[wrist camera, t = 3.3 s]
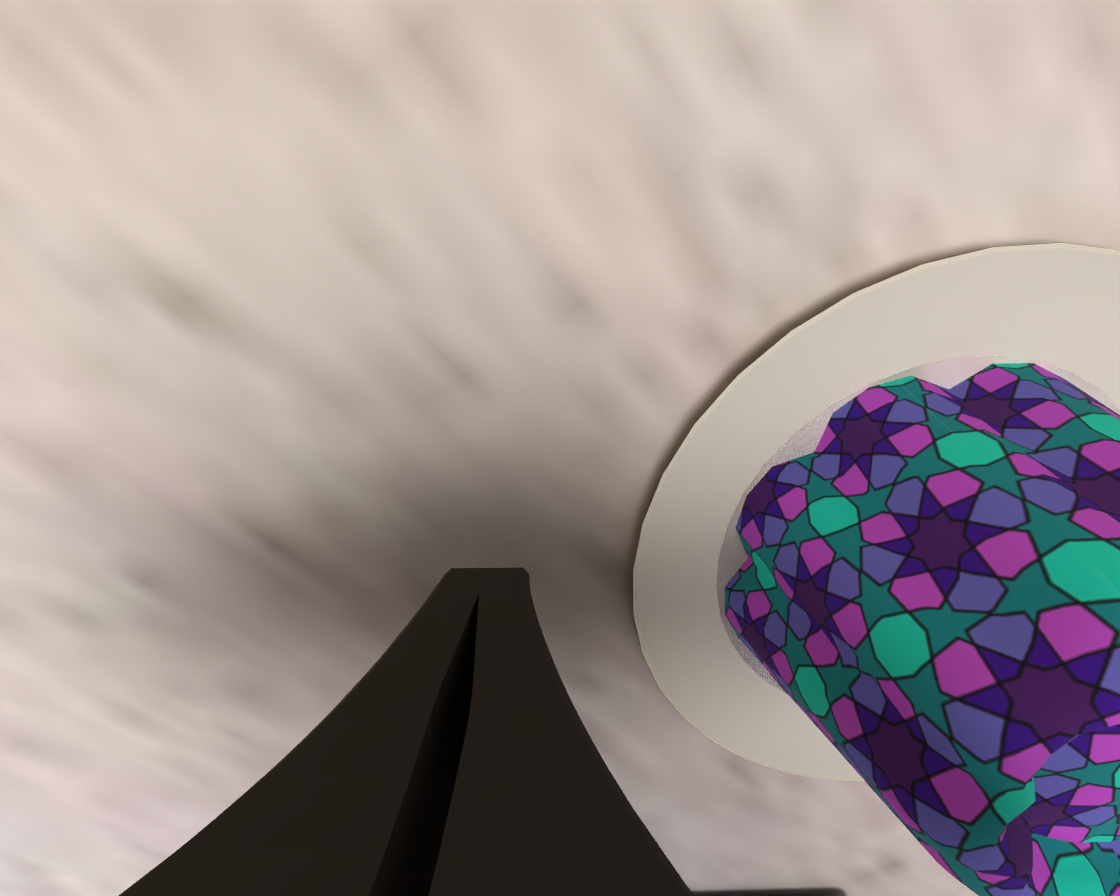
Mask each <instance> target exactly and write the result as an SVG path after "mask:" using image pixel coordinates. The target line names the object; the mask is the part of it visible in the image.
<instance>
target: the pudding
mask: <svg viewBox="0 0 1120 896" xmlns="http://www.w3.org/2000/svg"><path fill="white" fill-rule="evenodd" d="M982 356H1003V357H1012V358H1021V359H1029V360H1036V361H1039V362H1042V363H1045V364H1048V365H1051V366H1054V367H1057V368H1060V369H1063V370H1066V371H1070V372H1071V373H1073V374H1075V375H1076V376H1078V377H1080V378H1081V379H1083V380H1085V381H1086V382H1088V383H1089V384H1091V385H1093V386H1094V387H1096V388H1098V389H1099V390H1100V391H1101V392H1102V393H1103V394H1104V395H1105V396H1106V397H1107V398H1108V399H1109V400H1110V401H1111V402H1112V403H1113V404H1114V405H1115V406H1116V407H1117V408H1118V409H1119V410H1120V250H1112V249H1105V248H1097V247H1090V246H1082V245H1074V244H1067V243H1052V244H1036V245H1021V246H1005V247H992V248H988V249H984V250H979V251H975V252H971V253H967V254H963V255H959V256H955V257H950V258H946V259H942V260H938V261H934V262H930V263H926V264H922V265H919V266H917V267H914V268H912V269H910V270H907V271H905V272H903V273H900V274H898V275H895V276H893V277H891V278H888V279H886V280H883V281H881V282H879V283H876V284H874V285H871V286H869V287H867V288H864V289H862V290H859V291H857V292H855V293H853V294H851V295H849V296H848V297H846V298H844V299H843V300H841V301H839V302H838V303H836V304H835V305H833V306H831V307H830V308H828V309H826V310H825V311H823V312H821V313H820V314H818V315H816V316H815V317H813V318H811V319H810V320H808V321H807V322H805V323H803V324H802V325H800V326H798V327H797V328H795V329H793V330H792V331H790V332H789V333H788V334H787V335H786V336H784V337H783V338H782V339H781V340H780V341H778V342H777V343H776V344H775V345H774V346H772V347H771V348H770V349H769V350H768V351H766V352H765V353H764V354H763V355H762V356H760V357H759V358H758V359H757V360H756V361H754V362H753V363H752V364H751V365H750V366H748V367H747V368H746V369H745V370H744V371H742V372H741V373H740V374H739V375H738V376H737V377H736V378H735V379H734V380H733V381H732V382H731V384H730V385H729V386H728V387H727V388H726V389H725V390H724V391H723V393H722V394H721V395H720V396H719V397H718V398H717V399H716V400H715V402H714V403H713V404H712V405H711V406H710V407H709V408H708V410H707V411H706V412H705V413H704V414H703V415H702V416H701V417H700V419H699V420H698V421H697V422H696V423H695V424H694V426H693V427H692V429H691V431H690V432H689V434H688V435H687V437H686V439H685V440H684V442H683V443H682V445H681V446H680V448H679V450H678V451H677V453H676V454H675V456H674V458H673V459H672V461H671V462H670V464H669V465H668V467H667V469H666V470H665V472H664V473H663V475H662V478H661V480H660V483H659V485H658V488H657V490H656V492H655V495H654V497H653V500H652V502H651V505H650V507H649V509H648V512H647V514H646V517H645V519H644V522H643V524H642V529H641V534H640V539H639V544H638V549H637V554H636V559H635V564H634V569H633V615H634V619H635V624H636V628H637V632H638V637H639V641H640V645H641V650H642V654H643V656H644V658H645V660H646V662H647V664H648V666H649V668H650V670H651V672H652V674H653V676H654V678H655V681H656V683H657V685H658V687H659V688H660V690H661V691H662V692H663V693H664V695H665V696H666V697H667V698H668V700H669V701H670V702H671V703H672V705H673V706H674V707H675V708H676V710H677V711H678V712H679V713H680V715H681V716H682V717H683V718H684V719H685V720H687V721H688V722H689V723H690V724H691V725H693V726H694V727H695V728H696V729H697V730H699V731H700V732H701V733H702V734H703V735H705V736H706V737H707V738H708V739H710V740H711V741H712V742H714V743H716V744H718V745H720V746H722V747H723V748H725V749H727V750H729V751H731V752H732V753H734V754H736V755H738V756H740V757H742V758H743V759H746V760H749V761H752V762H754V763H757V764H760V765H763V766H766V767H769V768H772V769H774V770H777V771H780V772H785V773H790V774H795V775H801V776H806V777H811V778H816V779H824V780H842V781H860V782H866V783H867V784H868V785H869V786H870V787H871V788H872V789H873V790H874V792H875V793H876V794H877V795H878V796H879V797H880V798H881V799H882V801H883V802H884V803H885V804H886V805H887V806H888V807H889V808H890V810H891V811H892V812H893V813H894V814H895V815H896V816H897V817H898V819H899V820H900V821H901V822H902V823H903V824H904V825H905V826H906V828H907V829H908V830H909V831H910V832H911V833H912V834H913V835H914V837H915V838H916V839H917V840H918V841H919V842H920V843H921V844H922V846H923V847H924V848H925V849H926V850H927V851H928V852H929V853H930V855H931V856H932V857H933V858H934V859H935V860H936V861H937V862H938V863H939V864H940V865H941V866H942V867H943V868H944V869H946V870H947V871H948V872H949V873H950V874H951V875H952V876H954V877H955V878H956V879H958V880H959V881H960V882H961V883H963V884H964V885H965V886H967V887H968V888H969V889H971V890H972V891H973V892H975V893H976V894H978V895H979V896H1120V415H1118V414H1117V413H1115V412H1114V411H1112V410H1111V409H1109V408H1108V407H1106V406H1104V405H1103V404H1101V403H1100V402H1098V401H1097V400H1095V399H1094V398H1092V397H1091V396H1089V395H1088V394H1086V393H1085V392H1083V391H1082V390H1080V389H1079V388H1077V387H1076V386H1074V385H1073V384H1071V383H1070V382H1068V381H1067V380H1065V379H1063V378H1061V377H1059V376H1057V375H1055V374H1053V373H1051V372H1049V371H1047V370H1045V369H1044V368H1042V367H1040V366H1038V365H1036V364H1034V363H1020V364H992V365H990V366H988V367H987V368H985V369H983V370H981V371H980V372H978V373H976V374H975V375H973V376H971V377H970V378H968V379H966V380H965V381H963V382H961V383H959V384H958V385H956V386H954V387H953V388H951V389H949V390H948V389H946V388H943V387H940V386H937V385H935V384H932V383H929V382H926V381H924V380H921V379H918V378H916V377H913V376H909V377H905V378H902V379H898V380H894V381H891V382H887V383H884V384H880V385H877V386H873V387H869V388H868V389H867V390H865V391H864V392H862V393H861V394H859V395H858V396H857V397H855V398H854V399H852V400H851V401H849V402H848V403H847V404H845V405H844V406H842V407H841V408H839V409H838V410H837V411H835V412H834V413H833V415H832V417H831V419H830V421H829V423H828V425H827V427H826V429H825V431H824V434H823V436H822V438H821V440H820V442H819V444H818V446H817V448H816V450H815V452H814V453H811V454H808V455H805V456H802V457H799V458H796V459H793V460H791V461H788V462H785V463H782V464H779V465H776V466H773V467H772V468H771V469H770V470H769V471H768V472H767V474H766V475H765V476H764V477H763V478H762V479H761V480H760V481H759V483H758V484H757V485H756V486H755V487H754V488H753V489H752V491H751V492H750V493H749V494H748V495H747V497H746V500H745V503H744V506H743V509H742V512H741V515H740V518H739V520H738V523H737V526H736V529H737V531H738V534H739V536H740V539H741V541H742V544H743V546H744V549H745V551H746V553H747V556H748V559H747V560H746V562H745V563H744V564H743V565H742V567H741V568H740V569H739V570H738V572H737V573H736V574H735V575H734V576H733V578H732V579H731V580H730V581H729V583H728V584H727V585H726V586H725V615H726V617H727V618H728V620H729V622H730V624H731V625H732V627H733V629H734V630H735V632H736V634H737V636H738V637H739V638H740V639H741V641H742V642H743V643H744V644H745V645H746V646H747V647H748V648H749V650H750V651H751V652H752V653H753V654H754V655H755V656H756V657H757V659H758V660H759V661H760V662H761V663H762V664H763V665H764V666H765V668H766V669H767V670H768V671H769V672H770V675H771V676H772V677H773V678H774V679H775V680H776V681H777V683H778V684H779V685H780V686H781V687H782V688H783V689H784V690H785V692H786V693H787V694H786V693H785V692H783V691H781V690H780V689H778V688H777V687H775V686H773V685H772V684H770V683H768V682H767V681H765V680H764V679H763V678H762V677H760V676H759V675H758V674H757V673H756V672H755V671H754V670H753V669H752V668H751V667H750V666H749V665H748V664H747V663H746V662H745V661H744V660H743V658H742V657H741V656H740V654H739V653H738V651H737V650H736V648H735V647H734V645H733V644H732V642H731V641H730V639H729V636H728V634H727V631H726V628H725V626H724V623H723V621H722V618H721V615H720V608H719V601H718V594H717V575H718V562H719V555H720V552H721V548H722V545H723V541H724V538H725V534H726V531H727V527H728V525H729V523H730V521H731V518H732V516H733V514H734V512H735V510H736V508H737V506H738V504H739V502H740V500H741V498H742V496H743V494H744V493H745V491H746V490H747V488H748V487H749V486H750V484H751V483H752V481H753V480H754V479H755V477H756V476H757V474H758V473H759V472H760V470H761V469H762V467H763V466H764V465H765V463H766V462H767V461H768V460H769V459H770V458H771V457H772V456H773V455H774V454H775V453H776V452H777V451H778V450H779V449H780V448H781V447H782V446H783V445H784V444H785V443H786V441H787V440H788V439H789V438H790V437H791V436H792V435H793V434H794V433H795V432H797V431H798V430H799V429H801V428H802V427H803V426H805V425H806V424H807V423H808V422H810V421H811V420H812V419H814V418H815V417H816V416H818V415H819V414H820V413H821V412H823V411H824V410H825V409H827V408H828V407H829V406H831V405H833V404H835V403H836V402H838V401H840V400H842V399H843V398H845V397H847V396H849V395H851V394H852V393H854V392H856V391H858V390H859V389H861V388H863V387H865V386H866V385H868V384H871V383H873V382H876V381H878V380H881V379H884V378H886V377H889V376H891V375H894V374H896V373H899V372H902V371H904V370H907V369H909V368H913V367H917V366H922V365H926V364H930V363H935V362H939V361H944V360H948V359H952V358H966V357H982Z"/></svg>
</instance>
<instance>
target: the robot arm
mask: <svg viewBox="0 0 1120 896" xmlns="http://www.w3.org/2000/svg"><path fill="white" fill-rule="evenodd" d="M119 896H694V895H693V893H692V892H691V891H690V889H689V888H688V887H687V885H686V884H685V883H684V881H683V880H682V879H681V877H680V876H679V874H678V873H677V871H676V870H675V868H674V867H673V865H672V864H671V863H670V861H669V860H668V858H667V857H666V855H665V854H664V852H663V851H662V850H661V848H660V847H659V845H658V844H657V842H656V841H655V839H654V838H653V837H652V835H651V834H650V832H649V831H648V829H647V828H646V826H645V825H644V824H643V822H642V821H641V819H640V818H639V816H638V815H637V813H636V812H635V811H634V809H633V808H632V806H631V805H630V803H629V801H628V800H627V798H626V797H625V795H624V793H623V792H622V790H621V789H620V787H619V785H618V784H617V782H616V780H615V779H614V777H613V776H612V774H611V772H610V771H609V769H608V767H607V766H606V764H605V762H604V761H603V759H602V757H601V755H600V754H599V752H598V750H597V748H596V747H595V745H594V743H593V741H592V740H591V738H590V736H589V734H588V732H587V731H586V729H585V727H584V725H583V723H582V721H581V719H580V717H579V715H578V713H577V711H576V710H575V708H574V706H573V703H572V701H571V699H570V697H569V695H568V693H567V691H566V689H565V687H564V685H563V683H562V680H561V678H560V676H559V674H558V671H557V669H556V667H555V664H554V662H553V659H552V657H551V654H550V652H549V649H548V647H547V644H546V642H545V639H544V636H543V634H542V631H541V628H540V625H539V622H538V619H537V615H536V612H535V608H534V605H533V601H532V596H531V591H530V584H529V573H528V572H527V571H526V570H525V569H524V568H451V569H450V570H449V571H448V572H447V573H446V574H445V575H444V576H443V578H442V579H441V581H440V582H439V583H438V585H437V586H436V588H435V589H434V590H433V592H432V593H431V595H430V596H429V597H428V599H427V600H426V601H425V603H424V604H423V605H422V607H421V608H420V609H419V611H418V612H417V613H416V614H415V616H414V617H413V618H412V620H411V621H410V622H409V623H408V625H407V626H406V627H405V628H404V630H403V631H402V632H401V633H400V634H399V636H398V637H397V638H396V639H395V641H394V642H393V643H392V644H391V645H390V647H389V648H388V649H387V650H386V652H385V653H384V654H383V655H382V656H381V658H380V659H379V660H378V661H377V662H376V663H375V664H374V666H373V667H372V668H371V669H370V670H369V671H368V672H367V673H366V674H365V675H364V677H363V678H362V679H361V680H360V681H359V682H358V683H357V684H356V685H355V686H354V688H353V689H352V690H351V691H350V692H349V693H348V694H347V695H346V696H345V697H344V699H343V700H342V701H341V702H340V703H339V704H338V705H337V706H336V707H335V708H334V709H333V710H332V711H331V712H330V713H329V714H328V715H327V716H326V717H325V718H324V719H323V720H322V721H321V722H320V723H319V725H318V726H317V727H316V728H315V729H313V730H312V731H311V732H310V733H309V734H308V735H307V736H306V737H305V738H304V739H303V740H302V741H301V742H300V743H299V744H298V745H297V746H296V747H295V748H294V749H293V750H292V751H291V752H290V753H289V754H288V755H286V756H285V757H284V758H283V759H282V760H281V761H280V762H279V763H278V764H277V765H276V766H275V767H274V768H273V769H271V770H270V771H269V772H268V773H267V774H266V775H265V776H264V777H263V778H261V779H260V780H259V781H258V782H257V783H256V784H255V785H253V786H252V787H251V788H250V789H249V790H248V791H247V792H245V793H244V794H243V795H242V796H241V797H240V798H239V799H237V800H236V801H235V802H234V803H233V804H232V805H231V806H229V807H228V808H227V809H226V810H225V811H224V812H223V813H221V814H220V815H219V816H218V817H217V818H216V819H214V820H213V821H212V822H211V823H210V824H208V825H207V826H206V827H205V828H204V829H203V830H201V831H200V832H199V833H198V834H197V835H195V836H194V837H193V838H192V839H190V840H189V841H188V842H187V843H186V844H184V845H183V846H182V847H181V848H179V849H178V850H177V851H176V852H175V853H173V854H172V855H171V856H169V857H168V858H167V859H165V860H164V861H163V862H162V863H160V864H159V865H158V866H156V867H155V868H154V869H153V870H151V871H150V872H149V873H147V874H146V875H145V876H143V877H142V878H141V879H140V880H138V881H137V882H136V883H134V884H133V885H132V886H131V887H129V888H128V889H127V890H125V891H124V892H123V893H121V894H120V895H119Z"/></svg>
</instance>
